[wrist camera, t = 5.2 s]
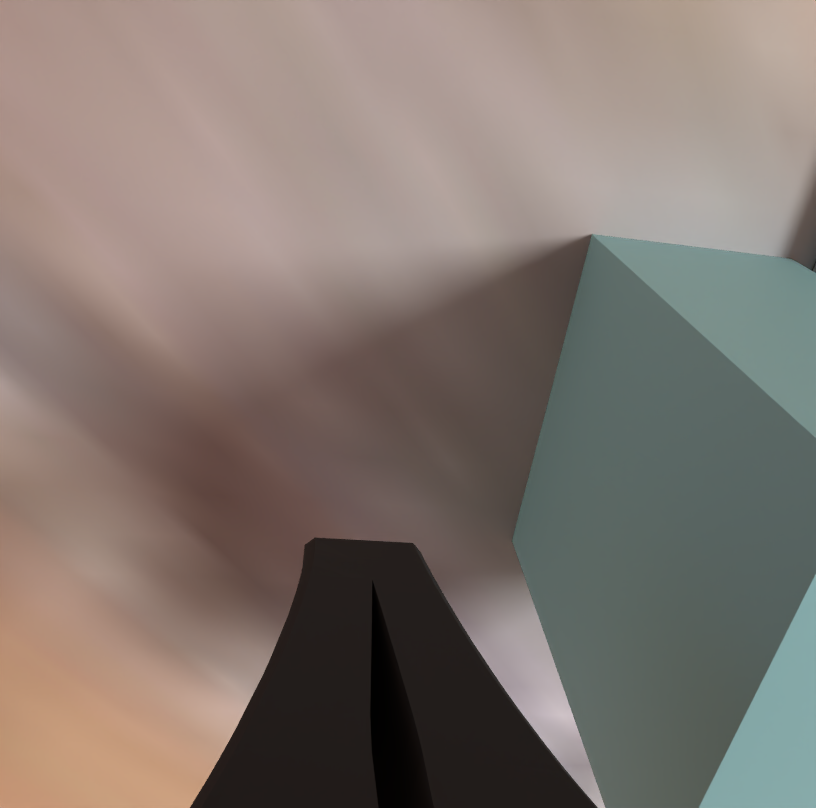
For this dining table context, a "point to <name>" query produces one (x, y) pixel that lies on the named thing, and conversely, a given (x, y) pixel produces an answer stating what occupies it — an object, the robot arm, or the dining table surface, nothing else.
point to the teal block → (683, 525)
